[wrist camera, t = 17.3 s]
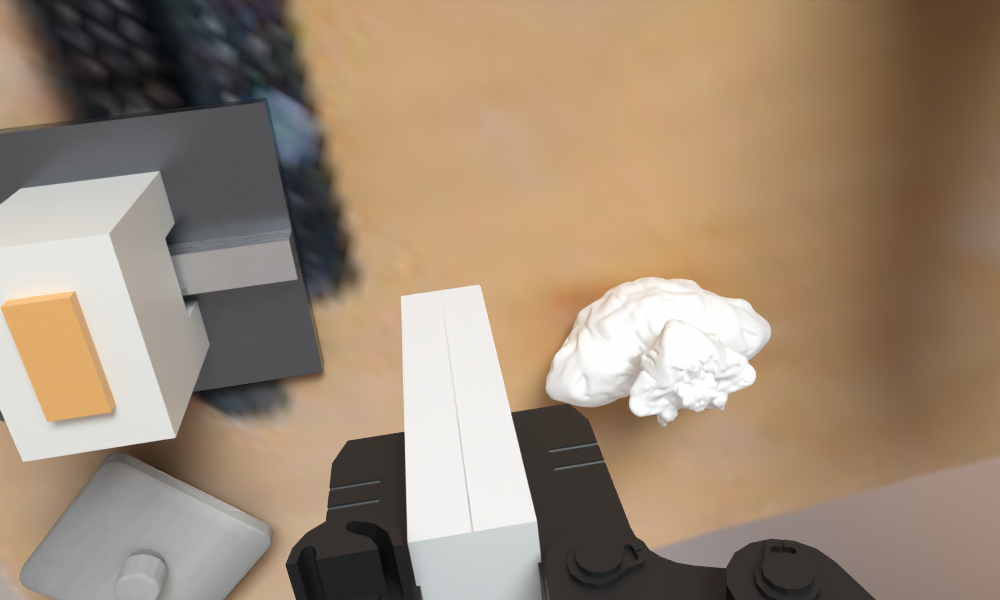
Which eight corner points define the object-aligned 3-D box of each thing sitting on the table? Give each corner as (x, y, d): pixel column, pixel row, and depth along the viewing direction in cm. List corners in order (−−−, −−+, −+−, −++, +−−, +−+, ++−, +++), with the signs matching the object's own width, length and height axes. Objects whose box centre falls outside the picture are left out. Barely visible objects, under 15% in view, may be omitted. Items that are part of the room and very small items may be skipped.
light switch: (123, 425, 42) (94, 486, 38) (282, 506, 46) (273, 570, 41) (31, 547, 45) (-7, 617, 40) (189, 614, 48) (171, 685, 44)
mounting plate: (266, 97, 36) (260, 109, 34) (323, 362, 42) (321, 386, 40) (-108, 142, 34) (-140, 157, 32) (9, 410, 41) (-12, 438, 38)
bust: (720, 269, 46) (785, 210, 35) (763, 395, 45) (846, 376, 34) (521, 324, 46) (524, 283, 35) (558, 454, 44) (574, 453, 33)
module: (160, 171, 36) (104, 239, 28) (209, 344, 40) (172, 446, 32) (20, 188, 35) (-76, 263, 27) (85, 362, 39) (17, 471, 31)
